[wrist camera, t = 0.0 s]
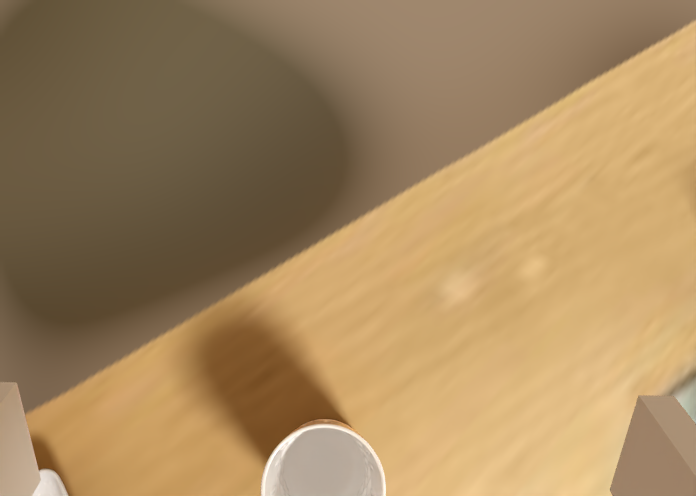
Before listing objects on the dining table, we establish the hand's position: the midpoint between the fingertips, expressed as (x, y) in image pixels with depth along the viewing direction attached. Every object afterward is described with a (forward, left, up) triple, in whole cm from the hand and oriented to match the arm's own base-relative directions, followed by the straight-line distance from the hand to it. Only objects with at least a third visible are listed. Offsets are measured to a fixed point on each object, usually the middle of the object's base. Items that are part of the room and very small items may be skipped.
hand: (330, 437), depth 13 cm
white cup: (-5, +3, -36) cm, 37 cm away
